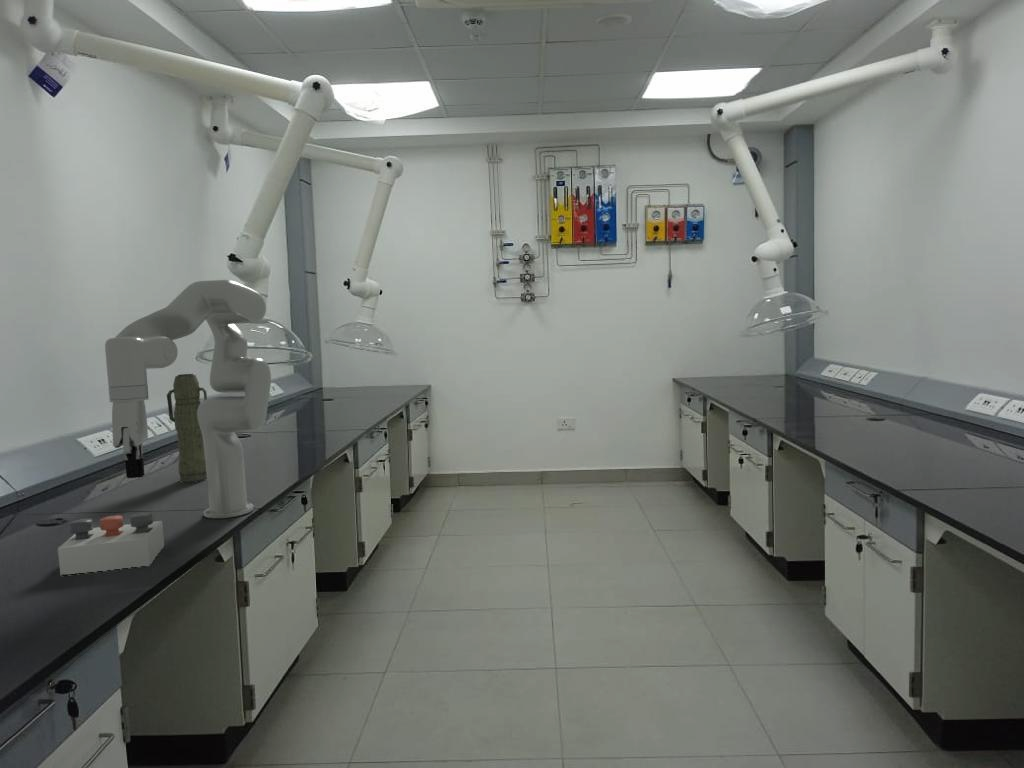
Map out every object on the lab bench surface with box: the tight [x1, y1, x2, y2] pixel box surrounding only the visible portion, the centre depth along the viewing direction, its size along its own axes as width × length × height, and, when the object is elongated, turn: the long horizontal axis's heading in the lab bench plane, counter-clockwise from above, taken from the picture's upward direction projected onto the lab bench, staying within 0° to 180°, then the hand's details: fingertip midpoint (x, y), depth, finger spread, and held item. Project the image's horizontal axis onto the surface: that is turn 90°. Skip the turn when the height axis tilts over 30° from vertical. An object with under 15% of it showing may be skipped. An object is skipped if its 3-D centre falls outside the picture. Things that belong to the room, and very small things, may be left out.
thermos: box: [166, 373, 208, 483], centre depth 233 cm, size 9×12×35 cm
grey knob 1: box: [68, 517, 94, 540], centre depth 155 cm, size 4×4×6 cm
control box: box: [57, 520, 165, 576], centre depth 156 cm, size 14×17×6 cm
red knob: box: [99, 515, 124, 537], centre depth 156 cm, size 4×4×6 cm
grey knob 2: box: [129, 512, 154, 533], centre depth 157 cm, size 4×4×6 cm
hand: (135, 476), depth 156 cm, fingers closed
